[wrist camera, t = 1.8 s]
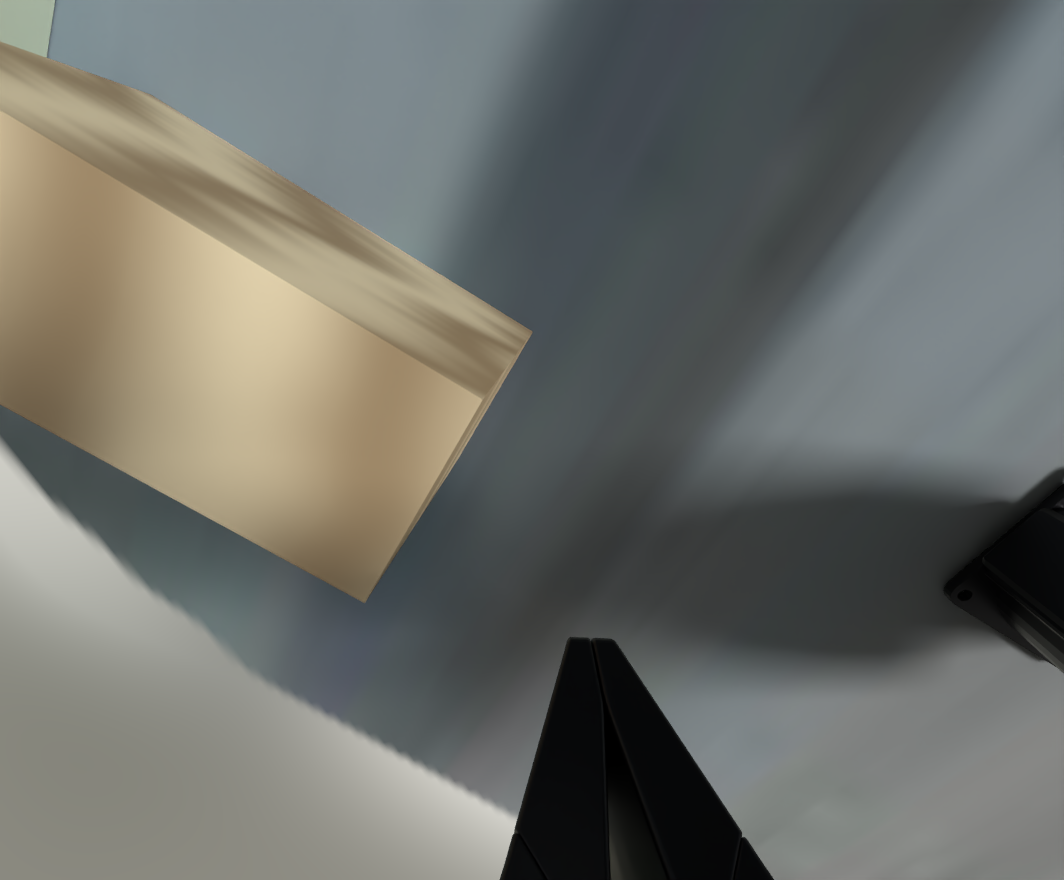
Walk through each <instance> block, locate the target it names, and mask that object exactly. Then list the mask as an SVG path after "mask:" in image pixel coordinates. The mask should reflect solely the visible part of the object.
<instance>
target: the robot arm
mask: <svg viewBox="0 0 1064 880" xmlns="http://www.w3.org/2000/svg"><path fill="white" fill-rule="evenodd" d="M963 590H964V592H962V593H960V594H959V592H961V591H963ZM944 594H945V595H946V596H947V597H948V598H949V599H950V600H951V601H952V602H953V603H954V604H955V605H957V606H958V607H960V608H961V609H963V610H965V611H966V612H968V613H970V614H971V615H973V616H974V617H976V618H978V619H979V620H981V621H983V622H984V623H986V624H987V625H989V626H991V627H992V628H994V629H996V630H997V631H999V632H1000V633H1002V634H1004V635H1005V636H1007V637H1008V638H1010V639H1012V640H1013V641H1015V642H1017V643H1018V644H1020V645H1021V646H1023V647H1025V648H1026V649H1028V650H1030V651H1031V652H1033V653H1034V654H1036V655H1038V656H1039V657H1041V658H1043V659H1044V660H1046V661H1047V662H1049V663H1051V664H1052V665H1054V666H1055V667H1057V668H1058V669H1059V670H1060V671H1061V672H1063V673H1064V484H1063V485H1062V486H1061V487H1060V488H1059V489H1057V490H1056V491H1055V492H1054V493H1053V494H1052V495H1050V496H1049V497H1048V498H1047V499H1046V500H1045V501H1043V502H1042V503H1041V504H1040V505H1039V506H1037V507H1036V508H1035V509H1034V510H1033V511H1032V512H1030V513H1029V514H1028V515H1027V516H1026V517H1024V518H1023V519H1022V520H1021V521H1020V522H1019V523H1017V524H1016V525H1015V526H1014V527H1013V528H1012V529H1010V530H1009V531H1008V532H1007V533H1006V534H1004V535H1003V536H1002V537H1001V538H1000V539H999V540H997V541H996V542H995V543H994V544H993V545H992V546H990V547H989V548H988V549H987V550H986V551H984V552H983V553H982V554H981V555H980V556H979V557H977V558H976V559H975V560H974V561H973V562H972V563H970V564H969V565H968V566H967V567H966V568H964V569H963V570H962V571H961V572H960V573H959V574H957V575H956V576H955V577H954V578H953V579H952V580H950V581H949V582H948V583H947V584H946V585H945V587H944ZM500 880H774V879H773V877H772V876H771V874H770V873H769V872H768V870H767V869H766V867H765V866H764V864H763V863H762V861H761V860H760V858H759V857H758V855H757V854H756V852H755V851H754V849H753V848H752V846H751V845H750V843H749V842H748V840H747V839H746V838H745V837H742V832H741V830H740V828H739V827H738V825H737V824H736V822H735V821H734V819H733V818H732V816H731V815H730V813H729V812H728V810H727V809H726V807H725V806H724V804H723V803H722V801H721V800H720V798H719V797H718V795H717V794H716V792H715V791H714V789H713V788H712V786H711V785H710V783H709V782H708V780H707V779H706V777H705V776H704V774H703V773H702V771H701V770H700V768H699V767H698V765H697V764H696V762H695V761H694V759H693V758H692V756H691V755H690V753H689V752H688V750H687V749H686V747H685V746H684V744H683V743H682V741H681V740H680V738H679V737H678V735H677V734H676V732H675V731H674V729H673V727H672V726H671V724H670V723H669V721H668V720H667V718H666V717H665V715H664V714H663V712H662V711H661V709H660V708H659V706H658V705H657V703H656V702H655V700H654V699H653V697H652V696H651V694H650V693H649V691H648V690H647V688H646V687H645V685H644V684H643V682H642V681H641V679H640V678H639V676H638V675H637V673H636V672H635V670H634V669H633V667H632V666H631V664H630V663H629V661H628V660H627V658H626V657H625V655H624V654H623V652H622V651H621V649H620V648H619V646H618V645H617V643H616V642H615V641H614V640H612V639H605V638H593V639H592V640H591V641H590V639H588V638H579V637H570V638H569V639H568V641H567V644H566V647H565V651H564V654H563V658H562V661H561V665H560V669H559V672H558V676H557V679H556V683H555V686H554V690H553V694H552V697H551V701H550V704H549V708H548V712H547V715H546V719H545V722H544V726H543V729H542V733H541V737H540V740H539V744H538V747H537V751H536V754H535V758H534V762H533V765H532V769H531V772H530V776H529V780H528V783H527V787H526V790H525V794H524V797H523V801H522V805H521V808H520V812H519V815H518V819H517V822H516V826H515V832H514V834H513V836H512V839H511V843H510V847H509V850H508V854H507V857H506V861H505V864H504V868H503V871H502V874H501V877H500Z"/></svg>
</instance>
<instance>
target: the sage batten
mask: <svg viewBox="0 0 1064 880" xmlns="http://www.w3.org/2000/svg"><path fill="white" fill-rule="evenodd" d="M54 5H55V0H0V42H3V43H6V44H9V45H12V46H15V47H17V48H20V49H23V50H26V51H29V52H32V53H34V54H37V55H40V56H43V57H46V58H47V52H48V45H49V38H50V32H51V25H52V18H53V12H54Z"/></svg>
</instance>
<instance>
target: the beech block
mask: <svg viewBox="0 0 1064 880" xmlns="http://www.w3.org/2000/svg"><path fill="white" fill-rule="evenodd" d="M531 334H532V331H531V330H529V329H527V328H526V327H524V326H522V325H521V324H519V323H518V322H516V321H514V320H513V319H511V318H510V317H508V316H506V315H505V314H503V313H502V312H500V311H498V310H497V309H495V308H493V307H492V306H490V305H489V304H487V303H485V302H484V301H482V300H481V299H479V298H477V297H476V296H474V295H473V294H471V293H469V292H468V291H466V290H464V289H463V288H461V287H460V286H458V285H456V284H455V283H453V282H452V281H450V280H448V279H447V278H445V277H444V276H442V275H440V274H439V273H437V272H435V271H434V270H432V269H431V268H429V267H427V266H426V265H424V264H423V263H421V262H419V261H418V260H416V259H415V258H413V257H411V256H410V255H408V254H406V253H405V252H403V251H402V250H400V249H398V248H397V247H395V246H394V245H392V244H390V243H389V242H387V241H386V240H384V239H382V238H381V237H379V236H377V235H376V234H374V233H373V232H371V231H369V230H368V229H366V228H365V227H363V226H361V225H360V224H358V223H357V222H355V221H353V220H352V219H350V218H348V217H347V216H345V215H344V214H342V213H340V212H339V211H337V210H336V209H334V208H332V207H331V206H329V205H328V204H326V203H324V202H323V201H321V200H319V199H318V198H316V197H315V196H313V195H311V194H310V193H308V192H307V191H305V190H303V189H302V188H300V187H299V186H297V185H295V184H294V183H292V182H290V181H289V180H287V179H286V178H284V177H282V176H281V175H279V174H278V173H276V172H274V171H273V170H271V169H270V168H268V167H266V166H265V165H263V164H261V163H260V162H258V161H257V160H255V159H253V158H252V157H250V156H249V155H247V154H245V153H244V152H242V151H241V150H239V149H237V148H236V147H234V146H232V145H231V144H229V143H228V142H226V141H224V140H223V139H221V138H220V137H218V136H216V135H215V134H213V133H212V132H210V131H208V130H207V129H205V128H203V127H202V126H200V125H199V124H197V123H195V122H194V121H192V120H191V119H189V118H187V117H186V116H184V115H183V114H181V113H179V112H178V111H176V110H174V109H173V108H171V107H170V106H168V105H166V104H165V103H163V102H162V101H160V100H158V99H157V98H155V97H154V96H152V95H150V94H147V93H145V92H142V91H139V90H136V89H133V88H130V87H128V86H125V85H122V84H119V83H116V82H114V81H111V80H108V79H105V78H102V77H99V76H97V75H94V74H91V73H88V72H85V71H82V70H80V69H77V68H74V67H71V66H68V65H65V64H63V63H60V62H57V61H54V60H51V59H49V58H46V57H43V56H40V55H37V54H34V53H32V52H29V51H26V50H23V49H20V48H17V47H15V46H12V45H9V44H6V43H3V42H0V405H2V406H4V407H6V408H7V409H9V410H11V411H13V412H15V413H17V414H18V415H20V416H22V417H24V418H26V419H28V420H29V421H31V422H33V423H35V424H37V425H39V426H40V427H42V428H44V429H46V430H48V431H50V432H51V433H53V434H55V435H57V436H59V437H61V438H62V439H64V440H66V441H68V442H70V443H72V444H74V445H75V446H77V447H79V448H81V449H83V450H85V451H86V452H88V453H90V454H92V455H94V456H96V457H97V458H99V459H101V460H103V461H105V462H107V463H108V464H110V465H112V466H114V467H116V468H118V469H119V470H121V471H123V472H125V473H127V474H129V475H130V476H132V477H134V478H136V479H138V480H140V481H141V482H143V483H145V484H147V485H149V486H151V487H152V488H154V489H156V490H158V491H160V492H162V493H163V494H165V495H167V496H169V497H171V498H173V499H174V500H176V501H178V502H180V503H182V504H184V505H185V506H187V507H189V508H191V509H193V510H195V511H196V512H198V513H200V514H202V515H204V516H206V517H207V518H209V519H211V520H213V521H215V522H217V523H218V524H220V525H222V526H224V527H226V528H228V529H229V530H231V531H233V532H235V533H237V534H239V535H240V536H242V537H244V538H246V539H248V540H250V541H251V542H253V543H255V544H257V545H259V546H261V547H263V548H264V549H266V550H268V551H270V552H272V553H274V554H275V555H277V556H279V557H281V558H283V559H285V560H286V561H288V562H290V563H292V564H294V565H296V566H297V567H299V568H301V569H303V570H305V571H307V572H308V573H310V574H312V575H314V576H316V577H318V578H319V579H321V580H323V581H325V582H327V583H329V584H330V585H332V586H334V587H336V588H338V589H340V590H341V591H343V592H345V593H347V594H349V595H351V596H352V597H354V598H356V599H358V600H360V601H362V602H363V603H365V602H366V600H367V599H368V597H369V596H370V594H371V593H372V591H373V589H374V588H375V586H376V585H377V583H378V582H379V580H380V579H381V577H382V576H383V574H384V573H385V571H386V569H387V568H388V566H389V565H390V563H391V562H392V560H393V559H394V557H395V556H396V554H397V552H398V551H399V549H400V548H401V546H402V545H403V543H404V542H405V540H406V539H407V537H408V535H409V534H410V532H411V531H412V529H413V528H414V526H415V525H416V523H417V522H418V520H419V518H420V517H421V515H422V514H423V512H424V511H425V509H426V508H427V506H428V505H429V503H430V502H431V500H432V498H433V497H434V495H435V494H436V492H437V491H438V489H439V488H440V486H441V485H442V483H443V481H444V480H445V478H446V477H447V475H448V474H449V472H450V471H451V469H452V468H453V466H454V464H455V463H456V461H457V460H458V458H459V456H460V455H461V453H462V451H463V450H464V448H465V446H466V445H467V443H468V441H469V439H470V438H471V436H472V434H473V433H474V431H475V429H476V428H477V426H478V424H479V422H480V421H481V419H482V417H483V416H484V414H485V412H486V411H487V409H488V407H489V405H490V404H491V402H492V400H493V399H494V397H495V395H496V394H497V392H498V390H499V388H500V387H501V385H502V383H503V382H504V380H505V378H506V377H507V375H508V373H509V371H510V370H511V368H512V366H513V365H514V363H515V361H516V360H517V358H518V356H519V354H520V353H521V351H522V349H523V348H524V346H525V344H526V343H527V341H528V339H529V337H530V336H531Z"/></svg>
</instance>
